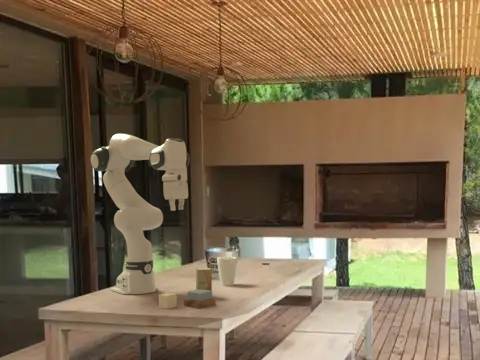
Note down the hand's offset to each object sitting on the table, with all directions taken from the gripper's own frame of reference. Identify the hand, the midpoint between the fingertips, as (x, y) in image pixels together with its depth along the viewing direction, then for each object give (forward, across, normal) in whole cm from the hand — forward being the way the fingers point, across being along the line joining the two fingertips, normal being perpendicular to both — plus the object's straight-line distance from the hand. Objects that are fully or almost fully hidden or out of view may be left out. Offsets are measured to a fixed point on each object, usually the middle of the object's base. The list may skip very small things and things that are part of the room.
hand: (177, 210), depth 233 cm
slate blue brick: (+36, +4, +10) cm, 37 cm away
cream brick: (+38, +9, -2) cm, 39 cm away
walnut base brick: (+39, +4, +10) cm, 40 cm away
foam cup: (+38, -43, +10) cm, 58 cm away
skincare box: (+38, -12, +7) cm, 41 cm away
